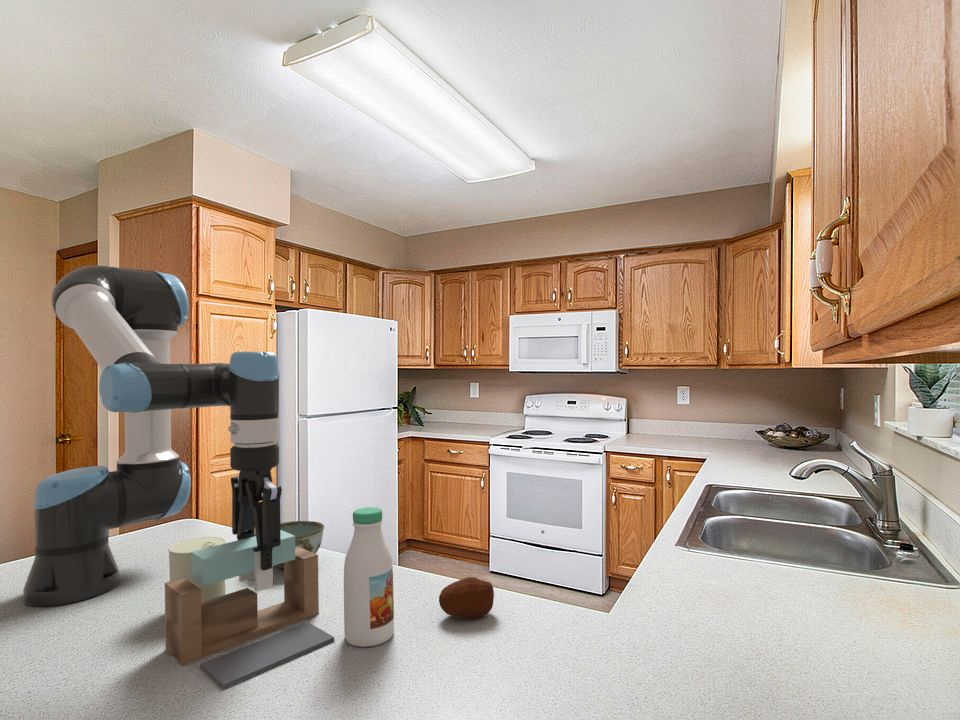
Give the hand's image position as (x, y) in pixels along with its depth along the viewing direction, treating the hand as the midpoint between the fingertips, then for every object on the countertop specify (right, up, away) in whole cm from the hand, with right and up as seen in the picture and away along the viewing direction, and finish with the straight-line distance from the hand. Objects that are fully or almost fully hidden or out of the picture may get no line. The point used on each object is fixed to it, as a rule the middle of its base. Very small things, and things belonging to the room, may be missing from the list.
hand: (255, 583), depth 91 cm
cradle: (0, -7, -1) cm, 7 cm away
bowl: (-3, -8, +28) cm, 29 cm away
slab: (-1, +3, -1) cm, 3 cm away
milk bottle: (+20, -7, -4) cm, 21 cm away
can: (-13, -8, +7) cm, 17 cm away
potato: (+35, -7, +2) cm, 36 cm away
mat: (+6, -7, -9) cm, 13 cm away
